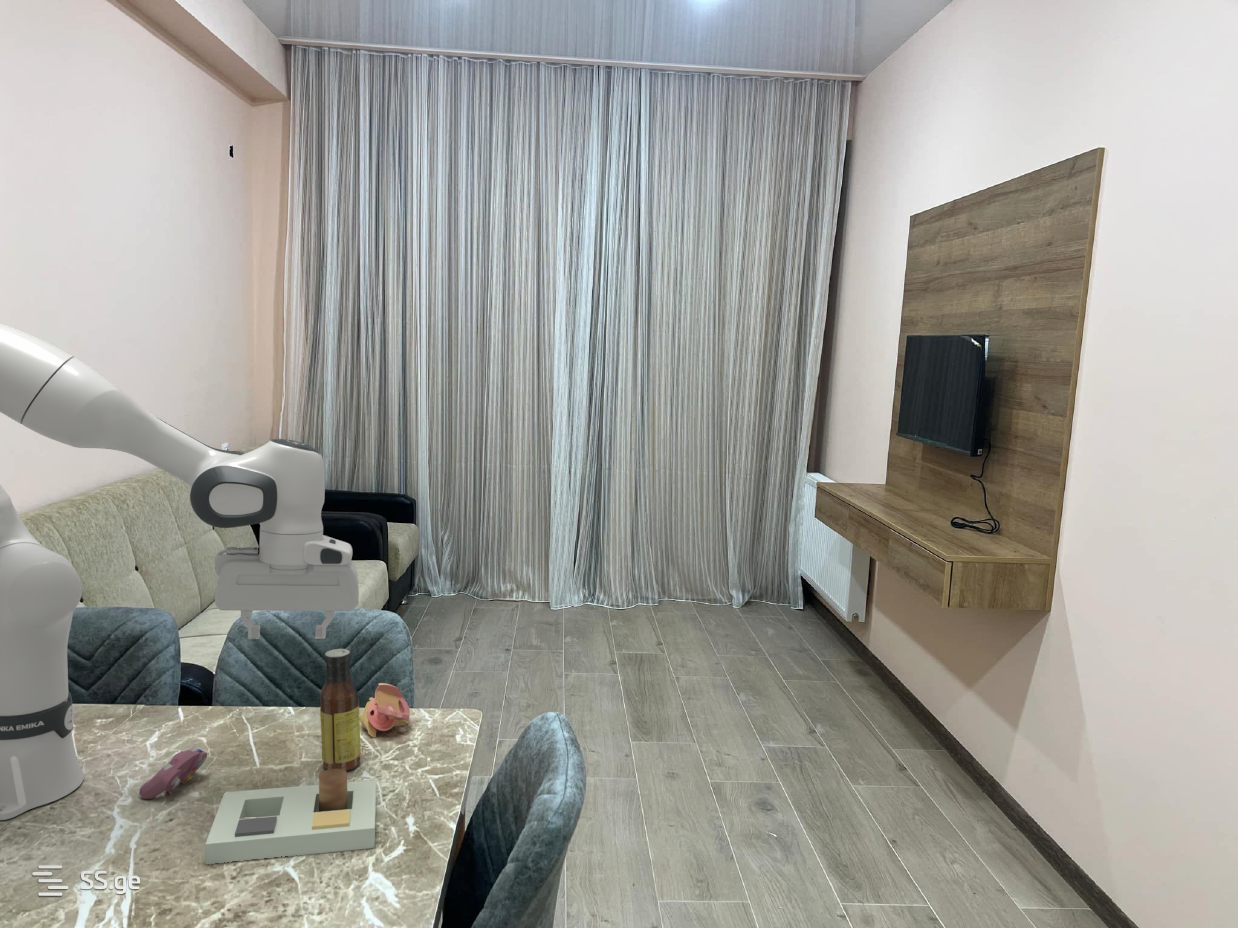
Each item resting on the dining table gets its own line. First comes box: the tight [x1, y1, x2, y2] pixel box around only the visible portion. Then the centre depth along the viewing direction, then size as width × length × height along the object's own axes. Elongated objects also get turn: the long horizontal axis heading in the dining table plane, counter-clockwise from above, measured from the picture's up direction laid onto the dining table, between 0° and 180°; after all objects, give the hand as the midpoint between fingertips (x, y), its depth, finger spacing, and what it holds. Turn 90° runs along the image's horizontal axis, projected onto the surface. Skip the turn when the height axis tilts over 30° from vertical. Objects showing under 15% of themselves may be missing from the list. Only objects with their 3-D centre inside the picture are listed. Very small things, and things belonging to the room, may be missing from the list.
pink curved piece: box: [138, 746, 208, 800], centre depth 136 cm, size 10×5×7 cm, turn 170°
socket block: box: [204, 779, 377, 866], centre depth 126 cm, size 22×14×4 cm, turn 105°
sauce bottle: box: [319, 648, 362, 772], centre depth 145 cm, size 6×6×20 cm
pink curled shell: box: [359, 682, 411, 738], centre depth 160 cm, size 9×10×10 cm
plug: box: [318, 769, 348, 812], centre depth 129 cm, size 4×4×7 cm
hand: (287, 637), depth 130 cm, fingers open, 8 cm apart
